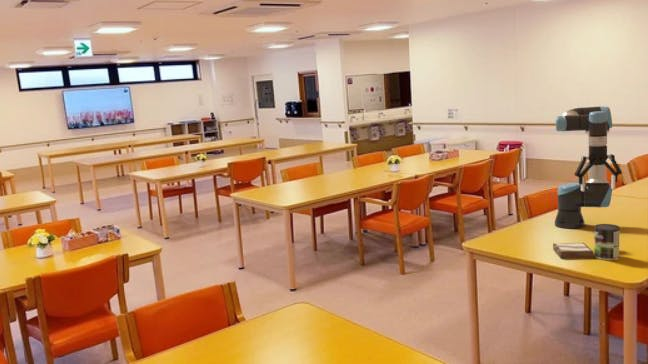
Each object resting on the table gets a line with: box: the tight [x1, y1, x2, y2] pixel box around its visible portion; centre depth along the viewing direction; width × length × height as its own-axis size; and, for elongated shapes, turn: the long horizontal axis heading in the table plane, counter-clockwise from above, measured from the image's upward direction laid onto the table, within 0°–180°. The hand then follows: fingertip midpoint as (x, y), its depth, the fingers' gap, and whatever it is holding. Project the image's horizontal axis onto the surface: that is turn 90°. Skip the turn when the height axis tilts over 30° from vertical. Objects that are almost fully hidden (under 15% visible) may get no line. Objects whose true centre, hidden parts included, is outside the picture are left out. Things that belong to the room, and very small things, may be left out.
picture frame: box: [552, 242, 594, 260], centre depth 256 cm, size 14×14×3 cm
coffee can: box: [593, 223, 621, 261], centre depth 247 cm, size 10×10×14 cm
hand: (597, 190), depth 257 cm, fingers open, 13 cm apart
